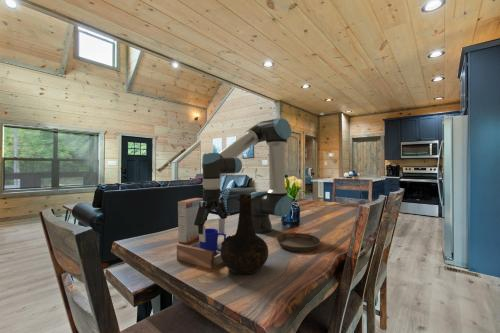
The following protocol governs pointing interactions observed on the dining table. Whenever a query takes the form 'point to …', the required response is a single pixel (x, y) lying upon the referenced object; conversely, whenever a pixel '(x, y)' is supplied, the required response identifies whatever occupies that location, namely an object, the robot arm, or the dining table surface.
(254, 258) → the dark brown vase
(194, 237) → the cracker box
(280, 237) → the plant saucer
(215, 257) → the channel
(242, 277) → the dining table surface
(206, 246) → the mug
